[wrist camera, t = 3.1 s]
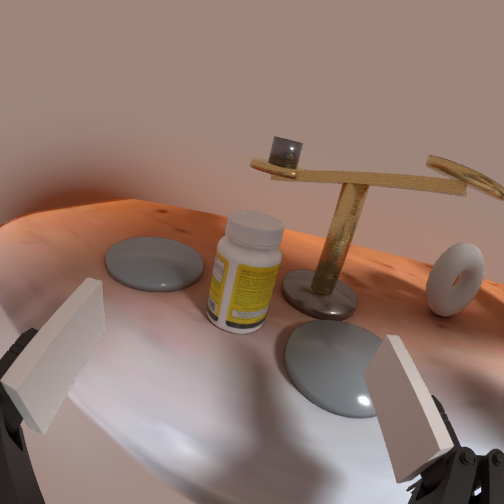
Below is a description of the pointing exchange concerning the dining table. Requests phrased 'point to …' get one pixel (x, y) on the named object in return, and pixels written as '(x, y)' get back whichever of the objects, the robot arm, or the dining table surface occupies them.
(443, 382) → the dining table surface
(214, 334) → the dining table surface
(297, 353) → the glossy grey puck
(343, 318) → the balance
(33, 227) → the dining table surface
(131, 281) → the dish low
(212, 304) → the supplement bottle
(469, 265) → the donut
